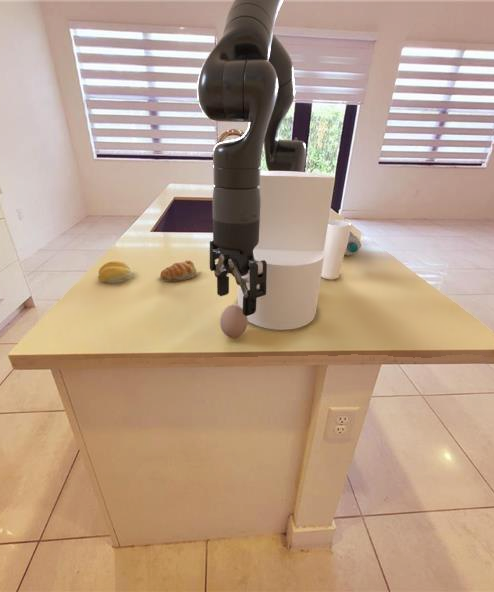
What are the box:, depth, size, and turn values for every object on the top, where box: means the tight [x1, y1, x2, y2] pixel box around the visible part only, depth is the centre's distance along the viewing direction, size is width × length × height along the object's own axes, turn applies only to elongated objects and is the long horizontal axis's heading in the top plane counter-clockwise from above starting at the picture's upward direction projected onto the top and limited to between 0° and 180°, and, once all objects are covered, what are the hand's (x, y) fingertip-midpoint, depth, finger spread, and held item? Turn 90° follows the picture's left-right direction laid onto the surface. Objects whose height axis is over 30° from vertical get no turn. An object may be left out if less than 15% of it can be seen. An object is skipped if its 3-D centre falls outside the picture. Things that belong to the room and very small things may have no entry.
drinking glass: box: [321, 219, 352, 281], centre depth 83 cm, size 7×7×15 cm
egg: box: [219, 303, 248, 339], centre depth 59 cm, size 5×5×7 cm
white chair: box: [237, 170, 336, 331], centre depth 64 cm, size 17×17×28 cm
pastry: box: [160, 260, 198, 282], centre depth 83 cm, size 9×7×4 cm
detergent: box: [344, 231, 362, 256], centre depth 108 cm, size 13×7×25 cm
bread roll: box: [97, 260, 133, 285], centre depth 82 cm, size 8×9×4 cm
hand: (235, 303), depth 57 cm, fingers open, 8 cm apart
